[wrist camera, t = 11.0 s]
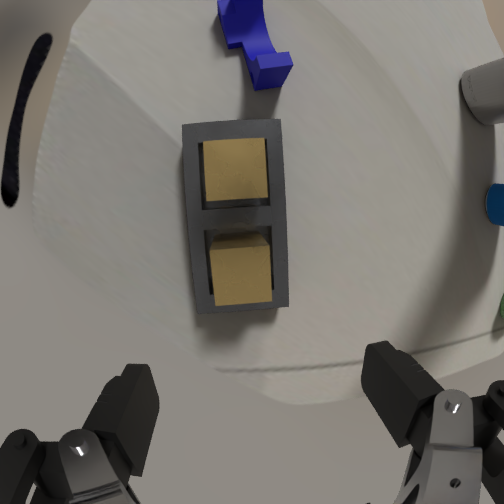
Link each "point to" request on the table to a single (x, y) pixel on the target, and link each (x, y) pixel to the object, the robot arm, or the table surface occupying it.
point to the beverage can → (495, 204)
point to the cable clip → (253, 42)
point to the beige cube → (235, 169)
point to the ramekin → (502, 307)
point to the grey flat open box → (235, 209)
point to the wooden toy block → (240, 268)
